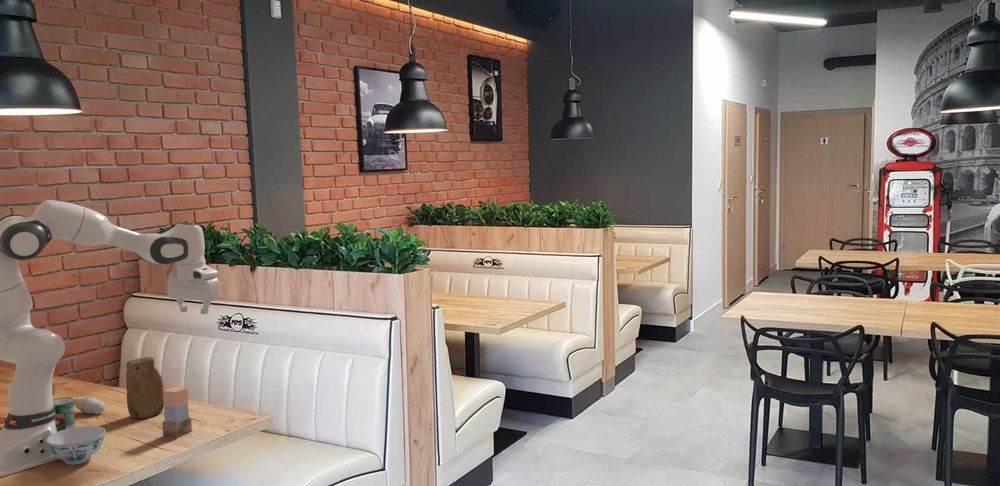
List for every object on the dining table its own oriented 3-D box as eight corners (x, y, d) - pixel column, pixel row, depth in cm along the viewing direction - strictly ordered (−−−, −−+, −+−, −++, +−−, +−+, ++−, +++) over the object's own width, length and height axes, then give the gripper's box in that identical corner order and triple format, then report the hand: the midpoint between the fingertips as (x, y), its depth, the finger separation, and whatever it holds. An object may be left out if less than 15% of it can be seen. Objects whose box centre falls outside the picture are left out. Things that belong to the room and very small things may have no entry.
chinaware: (116, 449, 225) (114, 425, 224) (90, 470, 210) (88, 443, 210) (66, 450, 225) (64, 426, 224) (37, 471, 210) (34, 445, 209)
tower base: (177, 439, 234) (176, 424, 233) (163, 436, 236) (162, 421, 236) (191, 433, 239) (191, 418, 239) (178, 430, 241) (177, 415, 241)
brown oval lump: (134, 421, 250) (130, 363, 248) (126, 416, 255) (122, 359, 253) (167, 413, 258) (163, 357, 255) (158, 408, 263) (155, 353, 261)
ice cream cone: (67, 410, 262) (103, 420, 259) (57, 404, 257) (93, 414, 254) (76, 394, 265) (112, 403, 262) (67, 388, 260) (103, 397, 257)
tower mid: (176, 423, 234) (175, 407, 233) (164, 421, 236) (163, 406, 235) (188, 418, 238) (188, 403, 238) (177, 416, 240) (176, 401, 240)
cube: (176, 407, 233) (175, 392, 233) (163, 406, 235) (163, 390, 235) (188, 403, 238) (187, 387, 237) (176, 401, 240) (175, 386, 239)
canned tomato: (43, 439, 234) (41, 406, 233) (51, 431, 242) (49, 398, 241) (71, 437, 236) (69, 403, 235) (78, 428, 244) (76, 396, 243)
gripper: (161, 271, 246) (163, 312, 247) (206, 274, 237) (209, 316, 239) (176, 268, 251) (179, 308, 253) (221, 271, 243) (224, 313, 244)
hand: (194, 312), depth 246 cm, fingers open, 8 cm apart
